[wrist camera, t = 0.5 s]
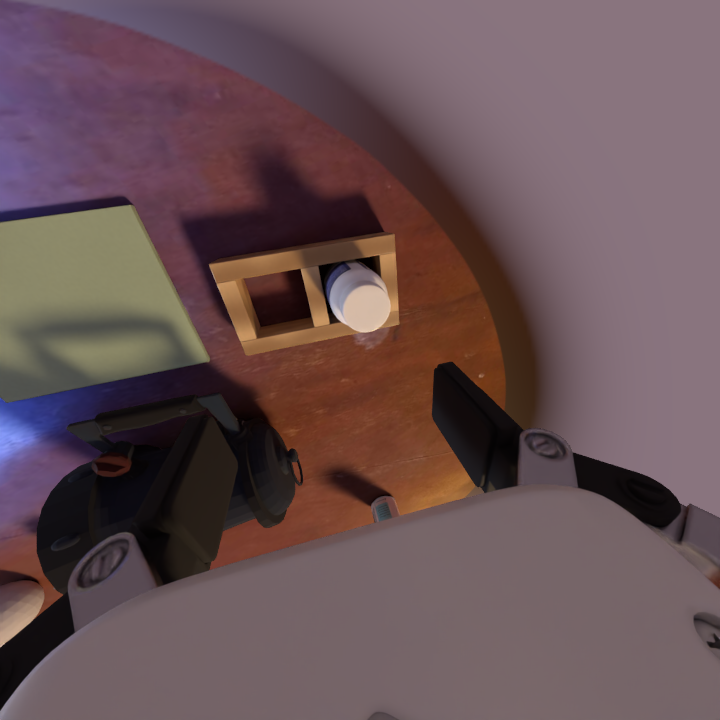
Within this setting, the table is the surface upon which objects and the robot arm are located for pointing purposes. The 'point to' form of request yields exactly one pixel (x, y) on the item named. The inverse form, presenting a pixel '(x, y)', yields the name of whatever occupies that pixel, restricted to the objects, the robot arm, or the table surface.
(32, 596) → the perfume bottle
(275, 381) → the table surface
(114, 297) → the mat
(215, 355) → the table surface
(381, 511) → the beer can
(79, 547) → the flashlight
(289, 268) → the rack
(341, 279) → the pill bottle
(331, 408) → the table surface
